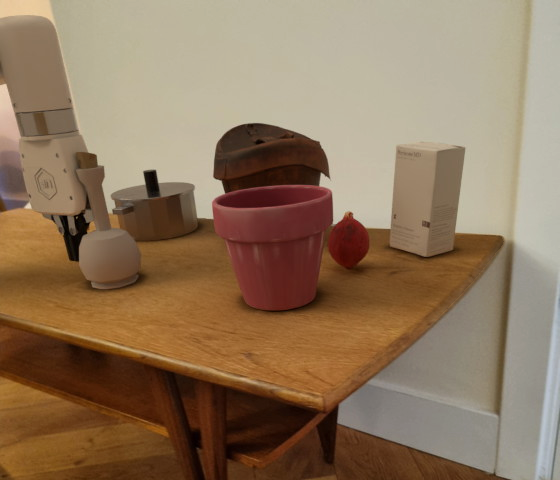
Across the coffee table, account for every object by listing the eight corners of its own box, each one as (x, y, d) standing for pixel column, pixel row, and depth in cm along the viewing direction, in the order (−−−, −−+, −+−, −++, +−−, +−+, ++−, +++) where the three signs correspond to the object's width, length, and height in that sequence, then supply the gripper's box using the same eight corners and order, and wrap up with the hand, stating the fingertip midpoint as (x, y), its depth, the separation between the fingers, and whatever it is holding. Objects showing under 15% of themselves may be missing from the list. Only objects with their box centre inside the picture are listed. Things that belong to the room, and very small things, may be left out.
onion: (368, 275, 75) (369, 216, 71) (326, 276, 76) (324, 217, 72) (370, 262, 80) (370, 206, 76) (330, 262, 81) (329, 207, 77)
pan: (95, 241, 102) (85, 203, 99) (164, 216, 117) (158, 181, 114) (155, 247, 96) (147, 206, 92) (220, 219, 111) (216, 183, 107)
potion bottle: (71, 289, 79) (35, 156, 70) (109, 269, 86) (81, 146, 78) (122, 293, 76) (91, 155, 67) (157, 272, 83) (133, 144, 75)
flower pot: (262, 274, 79) (254, 181, 73) (353, 285, 72) (352, 184, 66) (202, 310, 68) (186, 205, 62) (301, 327, 62) (294, 211, 56)
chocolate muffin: (304, 259, 83) (297, 131, 75) (199, 249, 93) (182, 134, 84) (351, 229, 97) (350, 117, 88) (255, 223, 106) (245, 121, 97)
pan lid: (93, 203, 101) (87, 177, 99) (150, 187, 113) (145, 163, 111) (159, 207, 94) (154, 179, 92) (211, 188, 106) (208, 163, 104)
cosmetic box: (388, 247, 86) (391, 145, 79) (416, 239, 88) (421, 139, 81) (429, 259, 79) (435, 148, 72) (457, 250, 82) (467, 142, 75)
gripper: (-12, 130, 74) (27, 262, 83) (66, 127, 68) (99, 271, 77) (33, 124, 80) (65, 248, 89) (109, 121, 73) (136, 255, 82)
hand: (81, 258), depth 83 cm, fingers closed
